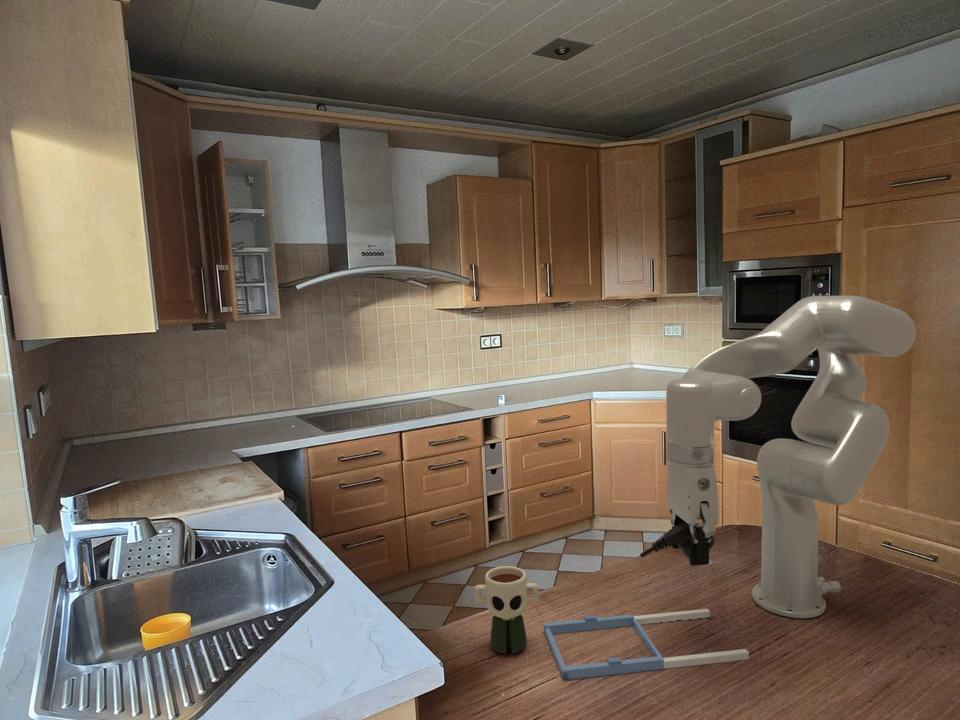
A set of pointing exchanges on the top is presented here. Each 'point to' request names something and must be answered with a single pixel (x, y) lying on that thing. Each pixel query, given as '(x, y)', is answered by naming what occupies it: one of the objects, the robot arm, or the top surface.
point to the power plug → (677, 540)
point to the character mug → (507, 606)
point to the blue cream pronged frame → (647, 663)
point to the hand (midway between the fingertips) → (690, 554)
